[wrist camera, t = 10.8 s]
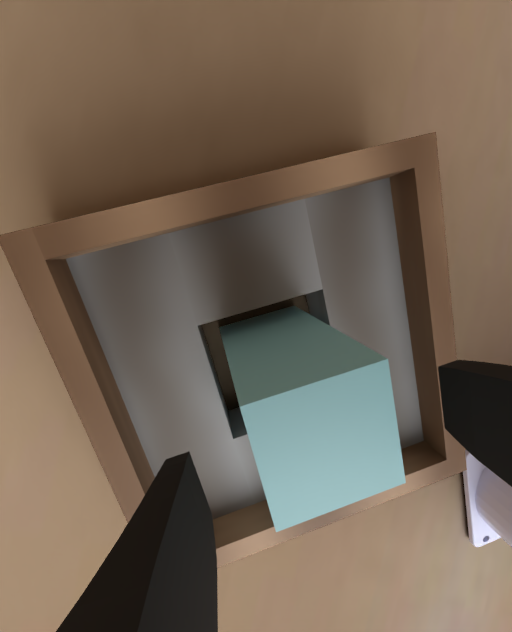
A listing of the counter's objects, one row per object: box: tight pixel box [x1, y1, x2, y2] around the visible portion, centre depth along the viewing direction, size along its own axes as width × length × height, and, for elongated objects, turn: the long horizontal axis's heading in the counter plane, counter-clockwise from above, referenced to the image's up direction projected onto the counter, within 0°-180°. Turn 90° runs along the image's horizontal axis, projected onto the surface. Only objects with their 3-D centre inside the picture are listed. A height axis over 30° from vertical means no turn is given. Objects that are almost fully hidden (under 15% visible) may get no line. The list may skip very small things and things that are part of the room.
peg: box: [219, 306, 406, 532], centre depth 12 cm, size 4×4×8 cm
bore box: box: [0, 132, 467, 568], centre depth 14 cm, size 15×15×4 cm
